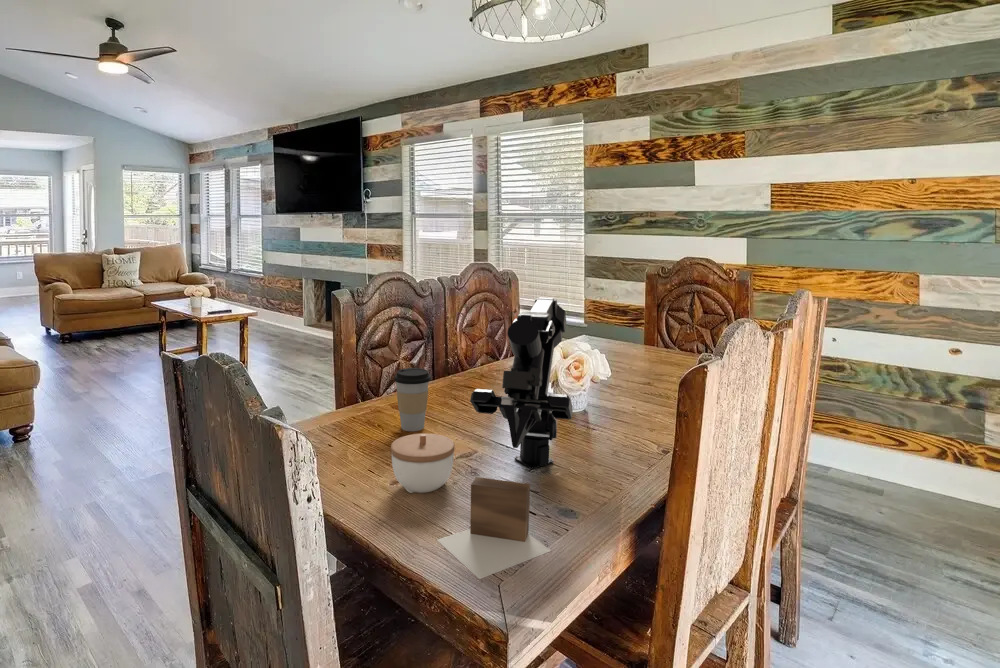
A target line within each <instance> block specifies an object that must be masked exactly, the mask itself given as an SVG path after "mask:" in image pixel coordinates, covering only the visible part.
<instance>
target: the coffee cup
mask: <svg viewBox="0 0 1000 668" xmlns="http://www.w3.org/2000/svg"><path fill="white" fill-rule="evenodd" d="M393 379H394V380H393V381H394V383H396V397H397V398H396V399H397V406H398V412H399V419H400V427H401V430H402V431H406V432H419V431H422V430H423V429H424V428H425V420H426V412H427V408H428V407H427V405H428V397H429V383H430V381H432V376H431V374H430V373H429V371H428V370H427V369H425V368H422V367H421V368H420V367H408V368H407V367H406V368H401V369H398V370H397V372H396V374H395V375H394V378H393Z"/></svg>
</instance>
